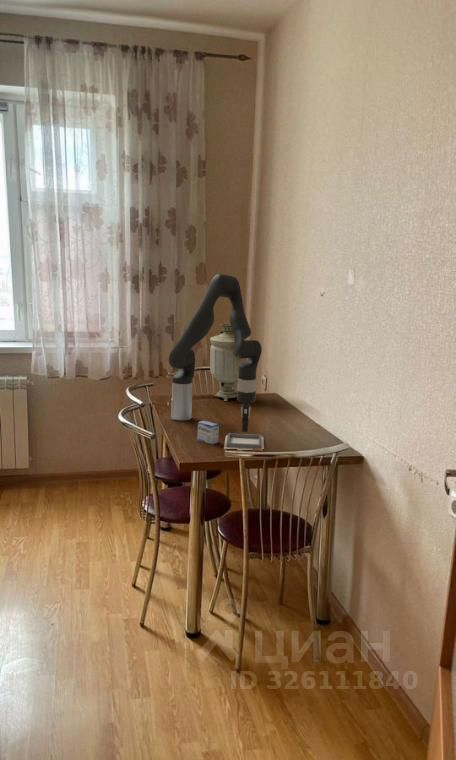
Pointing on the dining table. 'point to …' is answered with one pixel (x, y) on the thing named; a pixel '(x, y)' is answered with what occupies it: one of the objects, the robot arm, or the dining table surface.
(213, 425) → the medicine box
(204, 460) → the dining table surface
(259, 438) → the board
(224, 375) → the samovar
